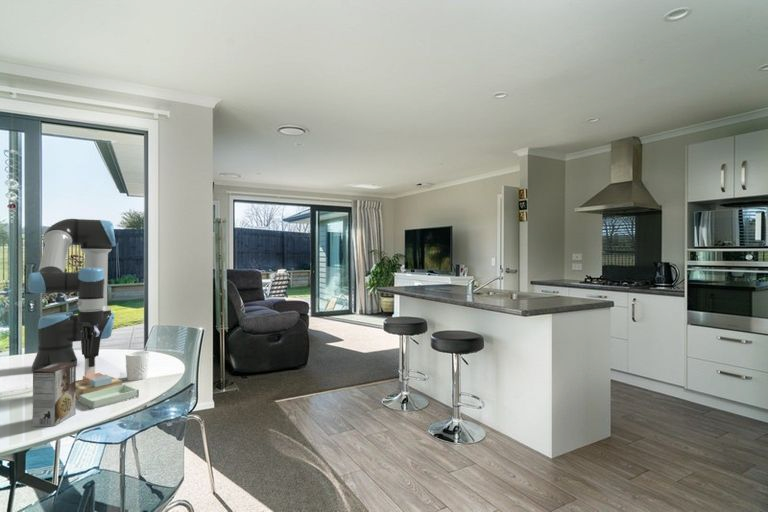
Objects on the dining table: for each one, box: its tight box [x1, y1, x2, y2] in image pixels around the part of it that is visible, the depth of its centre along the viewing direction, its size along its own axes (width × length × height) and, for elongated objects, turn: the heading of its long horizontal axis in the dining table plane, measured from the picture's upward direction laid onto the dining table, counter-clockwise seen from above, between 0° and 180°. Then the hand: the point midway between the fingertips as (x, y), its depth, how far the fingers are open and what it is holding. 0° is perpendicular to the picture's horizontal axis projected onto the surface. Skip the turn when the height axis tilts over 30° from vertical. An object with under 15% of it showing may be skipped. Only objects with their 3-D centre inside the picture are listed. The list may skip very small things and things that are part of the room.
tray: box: [78, 383, 140, 410], centre depth 137 cm, size 10×14×2 cm
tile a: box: [82, 372, 105, 384], centre depth 144 cm, size 5×5×2 cm
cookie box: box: [31, 363, 77, 427], centre depth 120 cm, size 9×6×16 cm
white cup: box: [125, 350, 150, 382], centre depth 161 cm, size 8×8×10 cm
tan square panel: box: [76, 374, 123, 401], centre depth 144 cm, size 13×12×4 cm
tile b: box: [89, 374, 112, 387], centre depth 141 cm, size 5×5×2 cm
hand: (89, 375), depth 146 cm, fingers closed
